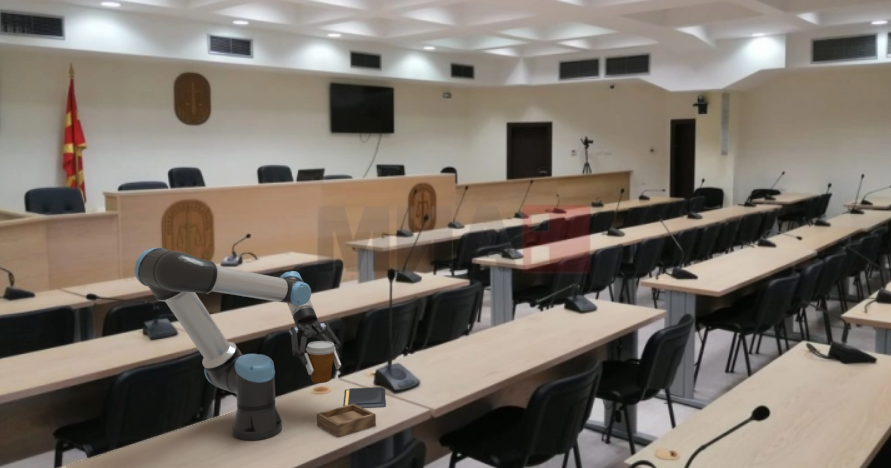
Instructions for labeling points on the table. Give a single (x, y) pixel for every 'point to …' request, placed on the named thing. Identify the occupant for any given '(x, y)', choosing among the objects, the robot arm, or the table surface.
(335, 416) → the tray
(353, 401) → the wallet
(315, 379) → the disposable coffee cup
